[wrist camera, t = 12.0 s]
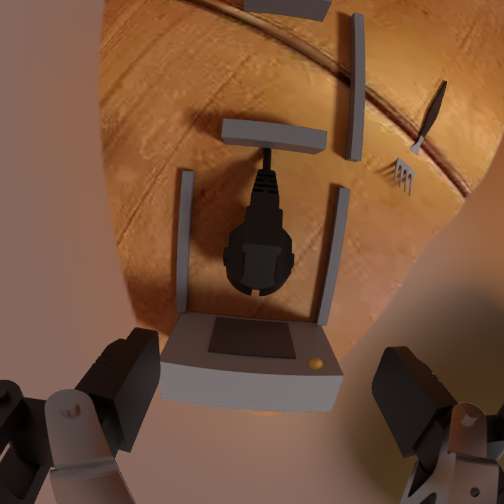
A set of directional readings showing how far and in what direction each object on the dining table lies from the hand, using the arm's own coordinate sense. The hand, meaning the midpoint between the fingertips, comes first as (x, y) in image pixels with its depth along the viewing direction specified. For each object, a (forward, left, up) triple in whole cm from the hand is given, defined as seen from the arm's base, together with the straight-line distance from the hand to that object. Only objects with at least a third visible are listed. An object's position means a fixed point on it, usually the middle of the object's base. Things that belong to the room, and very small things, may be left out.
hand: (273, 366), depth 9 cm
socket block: (+2, 0, -18) cm, 18 cm away
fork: (-15, +16, -18) cm, 28 cm away
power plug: (-3, 0, -18) cm, 18 cm away
